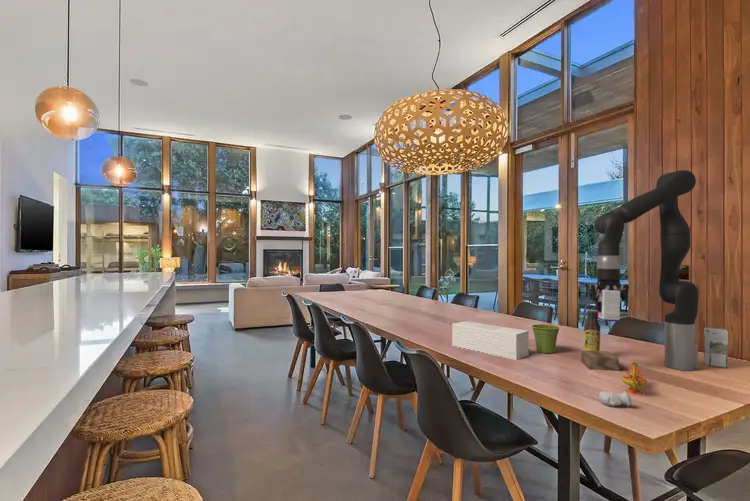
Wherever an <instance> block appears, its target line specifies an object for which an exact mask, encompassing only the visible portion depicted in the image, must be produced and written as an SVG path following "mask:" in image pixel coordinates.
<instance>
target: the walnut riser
mask: <svg viewBox="0 0 750 501" xmlns="http://www.w3.org/2000/svg"><path fill="white" fill-rule="evenodd" d="M580 354H581V355H580V358H581V359H580V362H581V364H583V365H584V366H585V367H586V368H587V369H588V370H595V371H609V370H610V372H611V371H612V372H619V370H620V368H619V362H620V361H619V359H620V358H619V357H617V356H615V355H614V354H613V353H612V352H610V351H602V350H600V351H585V350H583V349H581V350H580Z"/></svg>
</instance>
